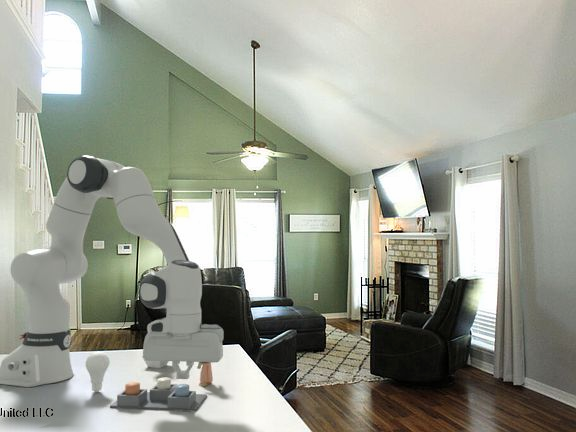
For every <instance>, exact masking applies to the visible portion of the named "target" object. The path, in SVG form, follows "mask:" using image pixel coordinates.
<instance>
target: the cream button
mask: <svg viewBox="0 0 576 432" xmlns="http://www.w3.org/2000/svg"><path fill="white" fill-rule="evenodd" d="M156 384H157V390H170V389H171V384H172V378H170V377H166V376H165V377H159V378H157V380H156Z"/></svg>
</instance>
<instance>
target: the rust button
mask: <svg viewBox="0 0 576 432" xmlns="http://www.w3.org/2000/svg"><path fill="white" fill-rule="evenodd" d="M140 389H141V383H140V382H135V381H133V382H132V381H131V382H128V383H126V384H125V388H124V390H125V395H139V394H140Z"/></svg>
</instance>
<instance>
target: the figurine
mask: <svg viewBox="0 0 576 432" xmlns="http://www.w3.org/2000/svg"><path fill="white" fill-rule="evenodd" d="M156 320H157V319H156ZM156 320H154V321H156ZM148 333H150V332H148V331H147V334H148ZM141 357H142V359H143V361H144V362H145V364H146V365H147V368H155V369H160V368H163V367H166V366H167V365H168V363H169V362H170V361H147V360H145V359H144V357H143V355H142V356H141Z"/></svg>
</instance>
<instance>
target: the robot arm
mask: <svg viewBox="0 0 576 432" xmlns="http://www.w3.org/2000/svg"><path fill="white" fill-rule="evenodd" d="M148 179H149V178H148V177H147V175H146V174H145V173H144V171H143V170H141V168H138V167H135V166H128V165H123V164H121V163H119V162H116V161H113V160H109V159H103V158H98V157H94V156H92V155H80V156H77V157H75V158H74V159H73V160H72V161H71V162H70V164H69V165H68V168H67V172H66V178H65V179H64V181H63V182H62V183H61V185H60V188H59V189H58V192H57V194H56V196H55V199H54V201H53V204H52V207H51V210H50V212H49V215H48V218H47V220H46V223H45V229H46V231H47V232H48V233H49V235H50V237H51V238H50V239H51V242H50V246H49V248H48V249H47V248H41V249H40V248H38V249H37V248H36V249H30V250H27V251H24V252H19V254H17V255H16V256H14V258H13V259H12V262H11V264H10V270H9V271H10V275H11V278H12V279H13V281H14V282H15V283H16V284H18V285H19V287H21V289H22V290H23V292H24V294H25V296H26V300H27V303H28V304H27V305H28V331H26V332H24V333H23V334H20V335H19V337H20V338H19V340H23V341H22V344H20V345H19V346H18V347H17V348H15V349H14V350H13V351H11V352H9V354H8V355H6V356H5V357H4V358H3V359H2V360H1V363H0V385H7V386H8V385H9V386H15V387H25V388H31V387H32V388H33V387H36V386H40V385H47V384H53V383H54V384H55V383H58V382H62V381H66V380H68V379H70V378H72V377H73V376H74V372H73V371H74V370H73V368H72V364H71V363H72V362H71V355H70V348H71V347H70V346H71V335H72V334H71V333H72V332H71V331H72V330H71V329H70V315H71V313H70V312H71V305H70V302H69V301H68V300H67V299H65V298H64V297H63V295H62V293H61V289H60V285H61V284H69V283H72V282H74V281H77V280H79V279H81V278H83V277H84V276H85V275H86V273H87V271H88V267H89V262H88V259H87V257H86V255H85V253H84V240H85V239H84V238H85V233H86V231H87V228H88V225H89V222H90V219H91V216H92V213H93V210H94V207H95V204H96V202H97V201H98V200H99V199H101V198H106V199H108V200H113V202H114V206H115V209H116V210H115V211H116V213H117V217H118V220H119V222H120V224H121V225H122V227H123V229H125V231H126V232H129V234H132V235H134V236H137V237H139V238H143V239H146V240H147V241H149V242H151V243H153V244H154V245H156V246H157V247H158V248H159V249H160V250H161V252H162V254H163V257H164V258H165V262H166V263H167V266H165V267H164V268H162V269H160V270H158V271H154V272H151V273H147V274H146V275H144V277H142V278H141V281H140V283H139V287H138V288H139V289H138V295H139V299H140V302H141V303H142V304H143V305H144V306H145V307H146V308H148V309H153V310H155V309H157V310H158V309H164V308H165V309H166V317H162V318H159V319H156V321H155V320H154V321H151V322H150V323H148V324H147V327H146V330H147V333H146V335H145V337H144V341H143V346H142V347H143V349H142V356H143V357H144V359H145V360H147V361H169V362H172V365H171V366H172V367H173V370H174V371H175V374H176V375H175V377H176V378H175V379H176V380H189V378H190V371H191V369H192V368H193V366H194V364H195V363H199V362H213V363H219V362H220V361H221V360H222V359H223V356H224V346H223V341H224V335H225V334H224V332H225V331H224V329H223V328H222V327H221V326H220V325H219V324H207V323H204V324H203V323H202V307H201V300H202V295H203V282H202V279H203V278H202V272H201V269H200V266H199V264H198V263H196V262H194V261H191V260H190V259H189V258H188V254H187V253H186V250H185V249H184V245H183V244H182V241H181V239H180V237H179V235H178V232H176V229H175V227H174V226H173V224H172V223H171V222H170V221H169V220H168V219H167V218H166V216H165V215H164V214H163V212H162V210H161V209H160V207H159V205H158V202H157V200H156V197H155V193H154V190H153V188H152V186H151V184H150V182H149V180H148ZM148 332H150V333H148ZM143 357H142V358H143ZM144 359H143V360H144ZM181 362H185V363H186V367H187V368H186V370H182V369H181V367H180V366H179V365H180V363H181Z"/></svg>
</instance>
